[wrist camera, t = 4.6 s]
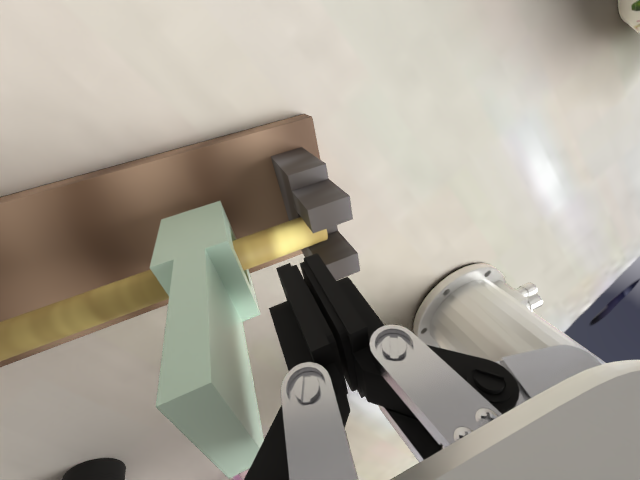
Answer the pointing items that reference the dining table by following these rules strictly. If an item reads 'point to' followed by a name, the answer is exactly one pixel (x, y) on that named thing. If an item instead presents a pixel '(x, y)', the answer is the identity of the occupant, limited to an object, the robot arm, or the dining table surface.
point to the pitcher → (630, 13)
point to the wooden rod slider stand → (143, 225)
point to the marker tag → (207, 338)
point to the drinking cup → (97, 470)
